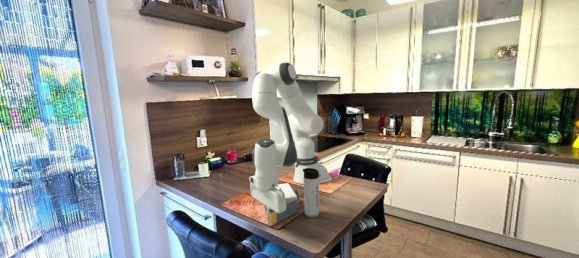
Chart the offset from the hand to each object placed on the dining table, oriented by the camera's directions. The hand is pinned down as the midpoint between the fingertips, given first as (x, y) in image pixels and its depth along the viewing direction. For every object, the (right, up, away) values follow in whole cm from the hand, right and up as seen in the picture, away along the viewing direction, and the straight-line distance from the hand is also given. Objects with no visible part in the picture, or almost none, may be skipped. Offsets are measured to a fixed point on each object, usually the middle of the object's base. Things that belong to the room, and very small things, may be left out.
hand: (268, 214), depth 98 cm
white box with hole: (+4, -1, +15) cm, 16 cm away
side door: (+6, -3, +3) cm, 8 cm away
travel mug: (+18, -2, +7) cm, 19 cm away
